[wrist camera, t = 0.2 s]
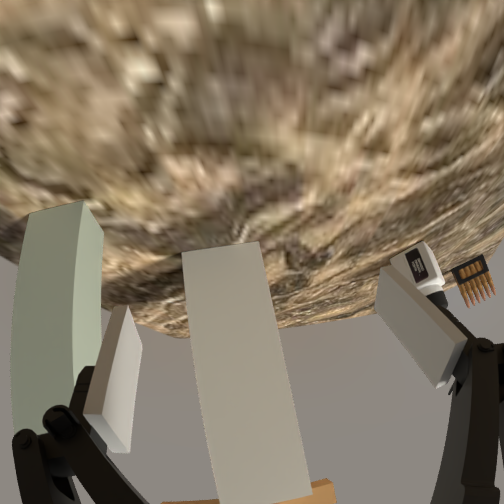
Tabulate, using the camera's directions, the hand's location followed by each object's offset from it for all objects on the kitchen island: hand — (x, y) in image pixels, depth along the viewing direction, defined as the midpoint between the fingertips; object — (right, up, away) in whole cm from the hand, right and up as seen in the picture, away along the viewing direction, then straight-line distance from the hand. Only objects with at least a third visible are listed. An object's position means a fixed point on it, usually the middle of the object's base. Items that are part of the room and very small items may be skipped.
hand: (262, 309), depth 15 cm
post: (-5, +2, +28) cm, 29 cm away
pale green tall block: (-21, +6, +14) cm, 26 cm away
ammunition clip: (+59, 0, +56) cm, 81 cm away
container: (+30, +3, +40) cm, 50 cm away
